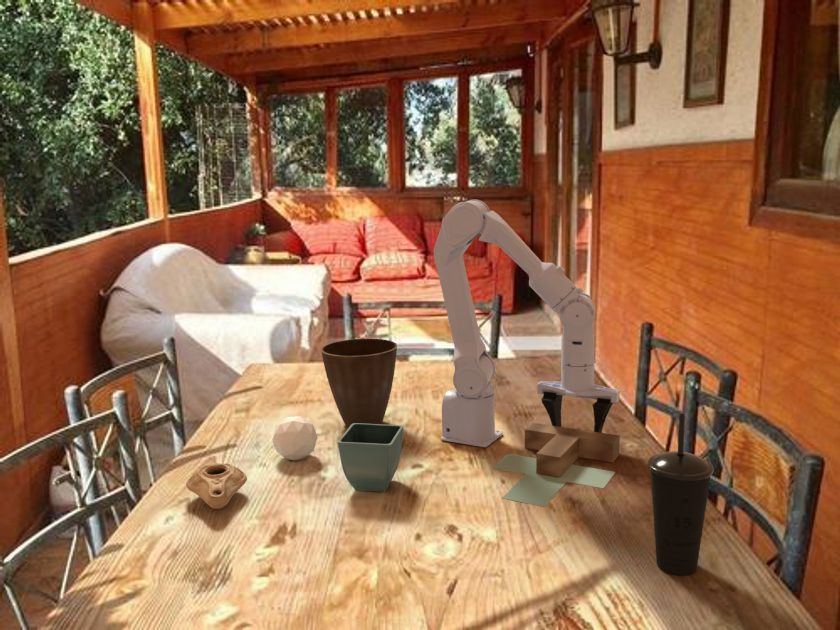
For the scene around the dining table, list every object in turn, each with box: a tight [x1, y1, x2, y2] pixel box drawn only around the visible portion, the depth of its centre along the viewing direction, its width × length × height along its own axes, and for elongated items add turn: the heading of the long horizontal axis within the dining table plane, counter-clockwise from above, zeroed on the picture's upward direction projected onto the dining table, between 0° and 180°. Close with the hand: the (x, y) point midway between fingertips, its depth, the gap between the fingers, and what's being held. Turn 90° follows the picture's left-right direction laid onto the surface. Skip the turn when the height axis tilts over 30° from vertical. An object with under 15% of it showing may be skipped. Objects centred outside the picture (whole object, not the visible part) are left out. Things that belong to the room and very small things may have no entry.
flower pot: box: [337, 423, 404, 492], centre depth 120 cm, size 9×9×9 cm
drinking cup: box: [647, 413, 715, 577], centre depth 93 cm, size 8×8×20 cm
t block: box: [524, 422, 621, 478], centre depth 128 cm, size 16×14×4 cm
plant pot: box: [320, 337, 398, 429], centre depth 149 cm, size 15×15×16 cm
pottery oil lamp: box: [185, 462, 248, 510], centre depth 116 cm, size 9×12×7 cm
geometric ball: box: [272, 416, 319, 461], centre depth 133 cm, size 8×8×8 cm
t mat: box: [492, 453, 616, 508], centre depth 121 cm, size 19×17×1 cm
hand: (577, 435), depth 135 cm, fingers open, 7 cm apart
